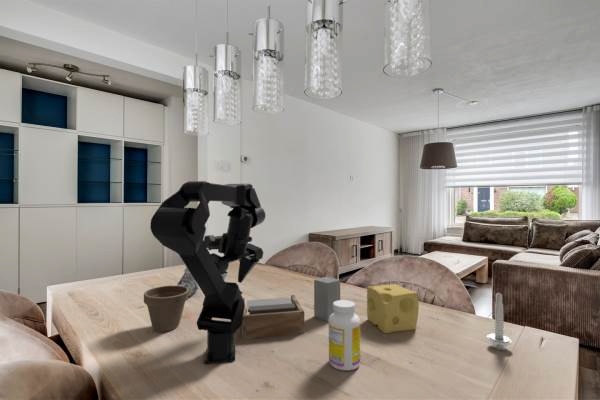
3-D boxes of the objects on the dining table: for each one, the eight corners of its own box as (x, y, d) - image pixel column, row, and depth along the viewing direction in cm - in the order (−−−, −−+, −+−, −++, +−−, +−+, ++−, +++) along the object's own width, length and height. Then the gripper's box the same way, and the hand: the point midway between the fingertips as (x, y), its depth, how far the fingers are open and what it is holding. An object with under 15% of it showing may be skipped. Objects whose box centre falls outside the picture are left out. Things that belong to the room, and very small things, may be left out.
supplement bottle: (356, 355, 69) (356, 298, 69) (363, 371, 63) (363, 308, 63) (326, 355, 69) (326, 298, 69) (330, 372, 63) (330, 309, 63)
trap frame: (304, 332, 81) (304, 311, 81) (242, 338, 78) (242, 316, 78) (293, 313, 95) (293, 294, 95) (241, 317, 92) (241, 298, 92)
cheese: (384, 334, 80) (384, 296, 80) (365, 319, 91) (365, 284, 91) (419, 330, 83) (419, 292, 83) (396, 315, 93) (396, 282, 93)
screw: (514, 348, 72) (506, 354, 70) (492, 341, 76) (483, 346, 73) (514, 293, 72) (506, 297, 69) (492, 288, 76) (483, 291, 73)
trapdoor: (296, 317, 83) (296, 307, 83) (248, 321, 80) (248, 310, 80) (289, 303, 94) (289, 294, 94) (246, 306, 91) (246, 297, 91)
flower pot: (198, 324, 87) (197, 288, 87) (161, 340, 77) (161, 299, 77) (171, 316, 93) (171, 282, 93) (134, 330, 83) (134, 292, 83)
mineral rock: (182, 302, 106) (182, 273, 105) (159, 298, 110) (159, 270, 110) (208, 292, 117) (208, 265, 117) (186, 288, 122) (186, 263, 122)
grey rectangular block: (327, 321, 89) (327, 283, 88) (314, 316, 93) (314, 279, 93) (340, 316, 92) (340, 279, 92) (326, 311, 96) (326, 276, 96)
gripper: (238, 218, 92) (229, 267, 94) (188, 226, 75) (179, 285, 78) (269, 230, 87) (258, 281, 89) (221, 241, 70) (210, 303, 73)
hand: (228, 287), depth 83 cm, fingers open, 9 cm apart
